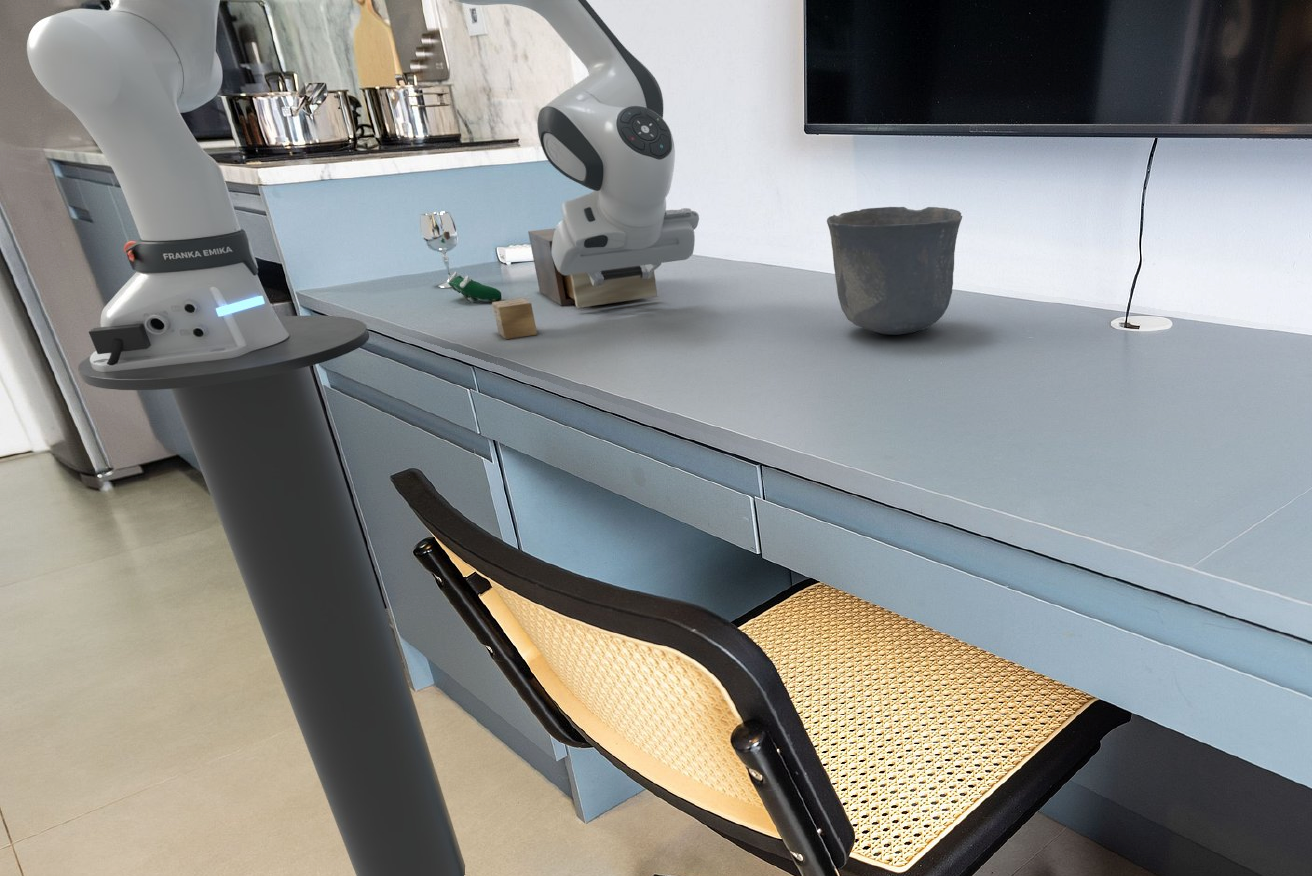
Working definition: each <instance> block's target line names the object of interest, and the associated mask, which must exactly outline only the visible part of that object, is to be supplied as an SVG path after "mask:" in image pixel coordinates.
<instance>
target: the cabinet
mask: <svg viewBox="0 0 1312 876" xmlns="http://www.w3.org/2000/svg"><path fill="white" fill-rule="evenodd" d="M555 229H556V227H555V228H547V229H536V230H528V232H527V234H528V238H529V244H530V248H531V254H532V259H533V263H534V269H535V275H536V279H537V284H538V289H539V293H540V294H541V295H543V296H545V297H546V298H549V300H551V301H553V302H555V303H556V304H558V305H559V306H561V307H565V306H571V305H576V304H575V300H574V299H573V298H571V297H569V296H567V295H566V294H565V292H564V286H563V281H562V275H561V273H560V272H559V271H558V270H557V268H556V266H555V263H554V261H553V257H552V253H551V250H552V241H553V236H554V232H555Z"/></svg>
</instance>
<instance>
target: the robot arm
mask: <svg viewBox="0 0 1312 876" xmlns="http://www.w3.org/2000/svg"><path fill="white" fill-rule="evenodd" d="M454 1H455V2H458V3H462V4H465V5H472V6H492V5H493V6H494V5H495V6H496V5H510V6H511V5H513V6H519V7H523V8H526V9H529V10H531V11H533V12H535V13H537V15H540V16H541V17H542V18H543V19H544V20H545V21H546V22H547V23H548V24H549V25H550V26H551V27H552V29H554V31H555V32H556V33H557V34H558V36H559V37H560V38H561V39H562V41H564V43H565V44H566V45H567V47H568V48H569V49H570V50H571V51H572V52H573V53H574V55H575V56H576V58H578V59H579V61H581V63H582V64H583V66H584V67H585V68H586V71H587V72H588V75H587V76H586V77H585V78H583V79H582V80H580V81H579V82H577V83H576V84H575V85H573V86H572V87H571V88H568V89H566V90H564V91H563V92H562V93H560V94H559V95H558V96H556V97H555V98H553V99H552V100H551V101H550V102H548V103H547V104H546V105H544V106H542V107H541V109H540V110H539V112H538V115H537V126H536V127H537V135H538V139H539V142H540V146H541V149H542V151H543V154H544V155H545V157H546V159H547V161H548V162H549V164H551V165H552V167H553V168H555V170H556V171H558V172H559V173H560V174H561V175H563V176H564V177H566V178H567V179H569V180H570V181H571V180H572V181H573V182H575V183H577V184H579V185H581V186H583V187H585V188H587V189H589V190H592V191H591V192H589V193H587V194H584V195H582V196H578V197H575V198H572V199H569V200H566V201H565V202H563V203H562V205H561V214H562V219H561V220H559V222H558V223H557V224H556V226H555V228H556V229H555V232H554V236H553V241H552V250H551V253H552V257H553V261H554V263H555V266H556V268H557V270H558V271H559V272H560V273H561V274H563V275H572V274H579V273H588V275H589V276H590V280H591V283H592V285H593V286H596V285H603V281H604V277H603V275H602V274H601V271H603V270H610V269H618V268H626V267H633V266H640V267H641V272H642V273H641V275H640V278H641V279H648V278H651V274H652V272H653V271H654V272H655V271H656V270H657V269H658V268H659V267H660V266H662V263H672V262H679V261H686V260H688V259H689V258H690V257H692V256H693V254H694V252H695V251H694V250H695V238H696V237H695V230H696V229H697V227H698V225H699V221H700V215H699V213H698V212H697V211H695V210H692V209H691V208H687V207H685V208H684V207H683V208H680V209H667V199H666V198H667V197H668V195H669V194H670V192H671V191H670V190H671V187H672V182H673V176H674V170H675V160H676V150H675V149H676V148H675V141H674V138H673V134H672V131H671V129H670V127H669V125H668V124H667V122H666V121H665V119H664V98H663V92H662V89H661V86H660V84H659V82H658V81H657V79H656V77H655V76H654V75H653V73H652V72H651V71H650V69H648V67H647V66H645V65H644V64H643V63H642V62H641V61H640V60H639V59H638V58H637V57H636V56H635V55H633V54H632V53H631V52H630V51H629V49H627V48H626V47H625V46H624V44H623V43H622V42H621V41H620V40H619V38H618V37H617V36H616V35H615V34H614V32H612V30H611V28H610V27H609V26H608V25H607V24H606V23H605V22H604V20H603V19H602V17H600V15H599V14H598V12H596V10H595V9H594V7H592V6H591V4H590V2H588V1H587V0H454ZM220 2H221V0H114V1H113V4H112V5H111V7H110V8H109V9H108V10H107V9H92V8H72V9H69V10H65V11H62V12H57V13H55V14H52V15H49V16H47V17H44V18H43V19H40V20H39V21H38V22H36V24H35V25H33V27H32V28H31V29H30V32H29V34H28V37H27V43H26V54H27V58H28V62H29V65H30V68H31V70H32V72H33V74H34V76H35V78H36V79H37V81H38V82H39V84H40V85H41V86H42V87H43V89H44V90H45V91H46V92H47V93H48V94H49V95H50V96H52V98H53V99H55V100H57V101H58V102H59V103H61V104H62V105H63V106H65V107H66V108H67V109H68V110H69V111H70V112H72V114H74V116H75V117H76V118H77V119H78V121H80V123H81V124H82V126H83V127H84V128H85V129H86V131H87V132H88V134H89V135H90V137H91V138H92V139H93V140H94V142H95V144H96V145H97V146H98V148H99V149H100V151H101V152H102V154H103V155H104V158H105V159H106V161H107V162H108V164H109V166H110V167H111V169H112V171H113V173H114V175H115V177H116V179H117V181H118V184H119V186H120V189H121V191H122V193H123V196H124V198H125V201H126V204H127V206H128V209H129V210H130V214H131V216H132V219H133V222H134V224H135V227H136V229H137V232H138V235H139V240H137V241H135V240H130V241H128V242H126V243H125V245H124V246H123V251H124V254H125V256H126V257H127V260H128V263H129V265H130V267H131V269H132V271H136V272H135V273H134V274H133V275H132V276H131V277H130V278H129V279H128V280H127V281H126V283H124V284H123V286H122V287H121V288H120V289H119V290H118V291H117V293H115V295H114V296H113V297H112V298H111V299H110V300H109V301H108V303H107V304H106V305H105V306H104V307H103V309H102V311H101V314H100V326H99V327H98V326H97V327H93V328H92V329H91V330H89V331H88V334H89V337H90V339H91V341H92V345H93V347H94V349H95V351H93V353H91V354H90V355H89V357H90V363H91V366H92V368H93V369H94V370H96V371H100V372H112V371H121V370H130V369H140V368H149V367H158V366H167V365H176V364H185V363H194V362H203V361H212V360H221V359H230V358H235V357H239V356H241V355H244V354H246V353H248V352H251V351H254V350H257V349H261V348H264V347H268V346H271V345H274V344H277V343H279V342H281V341H283V340H285V339H287V338H288V337H289V334H288V332H287V331H286V329H285V328H284V326H283V325H282V323H281V322H280V320H279V318H278V317H279V316H278V315H277V313H276V311H275V310H274V307H273V306H272V304H271V302H270V300H269V298H268V296H267V293H266V292H265V289H264V286H263V285H262V283H261V281H260V277H259V275H258V273H259V270H258V269H259V266H258V263H257V259H256V257H255V253H254V249H253V246H252V243H251V241H250V238H248V235H247V233H246V231H245V230H244V229H243V228H241V226H240V223H239V219H238V216H237V213H236V210H235V207H234V204H233V201H232V197H231V194H230V191H229V189H228V185H227V182H226V180H225V175H224V173H223V170H222V168H221V167H220V164H218V162H217V161H216V160H215V159H214V158H213V157H212V156H211V155H209V154H208V153H207V152H206V151H205V150H204V148H202V146H201V145H200V144H199V142H198V141H197V139H196V138H195V136H194V135H193V133H192V132H191V129H190V128H189V126H188V125H187V123H186V121H185V119H184V118H183V116H182V113H183V114H184V113H188V112H191V111H194V110H196V109H198V108H200V107H203V105H205V104H207V103H208V102H210V101H211V100H213V99H214V98H215V97H216V96H217V95H218V93H219V92H220V90H221V87H222V84H223V78H224V77H223V66H222V62H221V60H220V57H219V55H218V53H217V29H218V28H217V27H218V15H219V9H220Z"/></svg>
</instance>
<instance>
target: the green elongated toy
mask: <svg viewBox="0 0 1312 876" xmlns="http://www.w3.org/2000/svg"><path fill="white" fill-rule="evenodd" d="M448 282H449V283H448V284H449V285H450V286H451V289H452V290H453V291H456V292H457V293H458V294H461V298H463V299H464V300H466V301H467V300H468V301H470V302H471V303H475V302H477V301H478V300H479V301H486V302H487V301H489V302H498V301H502V292H501V291H500V290H499V289H497V288H495V287H492V286H489V285H485V284H482V283H480V282H478V281H475V280H473V279H472V278H471V277H470V276H469V275H468V274H467V275H466V276H465V277H462V275H460V274H459V273H458V271H454V273H452V274H451V277H450V279H449V281H448Z"/></svg>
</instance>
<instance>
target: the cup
mask: <svg viewBox="0 0 1312 876" xmlns="http://www.w3.org/2000/svg"><path fill="white" fill-rule="evenodd" d="M962 219H963V215H962V212H961V211H960V210H958V209H953V208H947V207H937V206H927V207H925V208H922V209H910V208H908V207H905V206H885V207H870V208H863V209H862V208H861V209H859V210H853V211H848V212H847V211H846V212H842V213H840V214H839V215H835V214H833V215H831V216H829V217H827V219H826V223H827V226H828V230H829V235H830V243H831V249H832V250H831V251H832V258H833V269H834V277H835V284H836V290H837V291H836V292H837V298H838V301H839V305H840V309H841V311H842V312H843V314H844V316H845V318H846V320H847V321H849V323H852V325H854V326H856V327H858V328H861V329H863V330H866V331H870V332H874V333H877V334H881V335H892V336H894V335H896V336H897V335H904V334H905V335H906V334H912V333H916V332H919V331H922V330H925V329H927V328H930V327H931V326H933V325H935V324H936V323H937V322H938V321H939V320H940V319H941V318H942V317H943V316H944V314H945V312H947V311H946V310H948V307H949V305H950V301H951V299H952V295H953V287H954V271H955V252H956V244H957V238H958V235H959V234H958V233H959V229H960V225H961V222H962Z"/></svg>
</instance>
